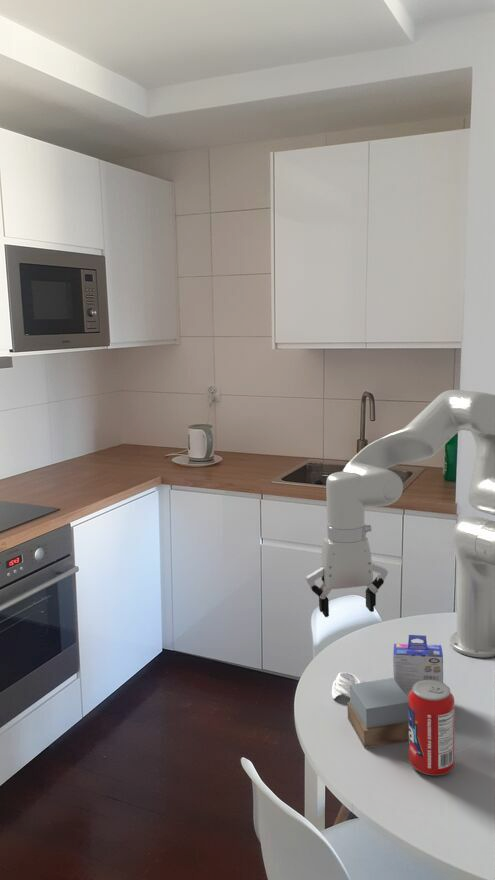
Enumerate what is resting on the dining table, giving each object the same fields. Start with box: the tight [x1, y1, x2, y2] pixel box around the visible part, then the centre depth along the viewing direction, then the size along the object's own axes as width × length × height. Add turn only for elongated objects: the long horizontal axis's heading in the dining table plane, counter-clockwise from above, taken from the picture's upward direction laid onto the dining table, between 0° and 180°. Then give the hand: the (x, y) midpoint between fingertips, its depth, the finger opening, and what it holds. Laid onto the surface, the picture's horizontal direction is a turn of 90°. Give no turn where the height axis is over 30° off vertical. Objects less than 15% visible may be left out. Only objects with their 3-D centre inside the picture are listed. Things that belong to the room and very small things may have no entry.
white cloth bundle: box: [331, 671, 361, 700], centre depth 149 cm, size 8×7×5 cm
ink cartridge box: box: [392, 634, 444, 697], centre depth 143 cm, size 10×6×14 cm, turn 78°
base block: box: [347, 701, 409, 749], centre depth 136 cm, size 10×10×4 cm
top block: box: [349, 677, 409, 728], centre depth 136 cm, size 9×9×4 cm
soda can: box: [408, 679, 455, 776], centre depth 124 cm, size 8×8×15 cm
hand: (347, 611), depth 145 cm, fingers open, 9 cm apart
